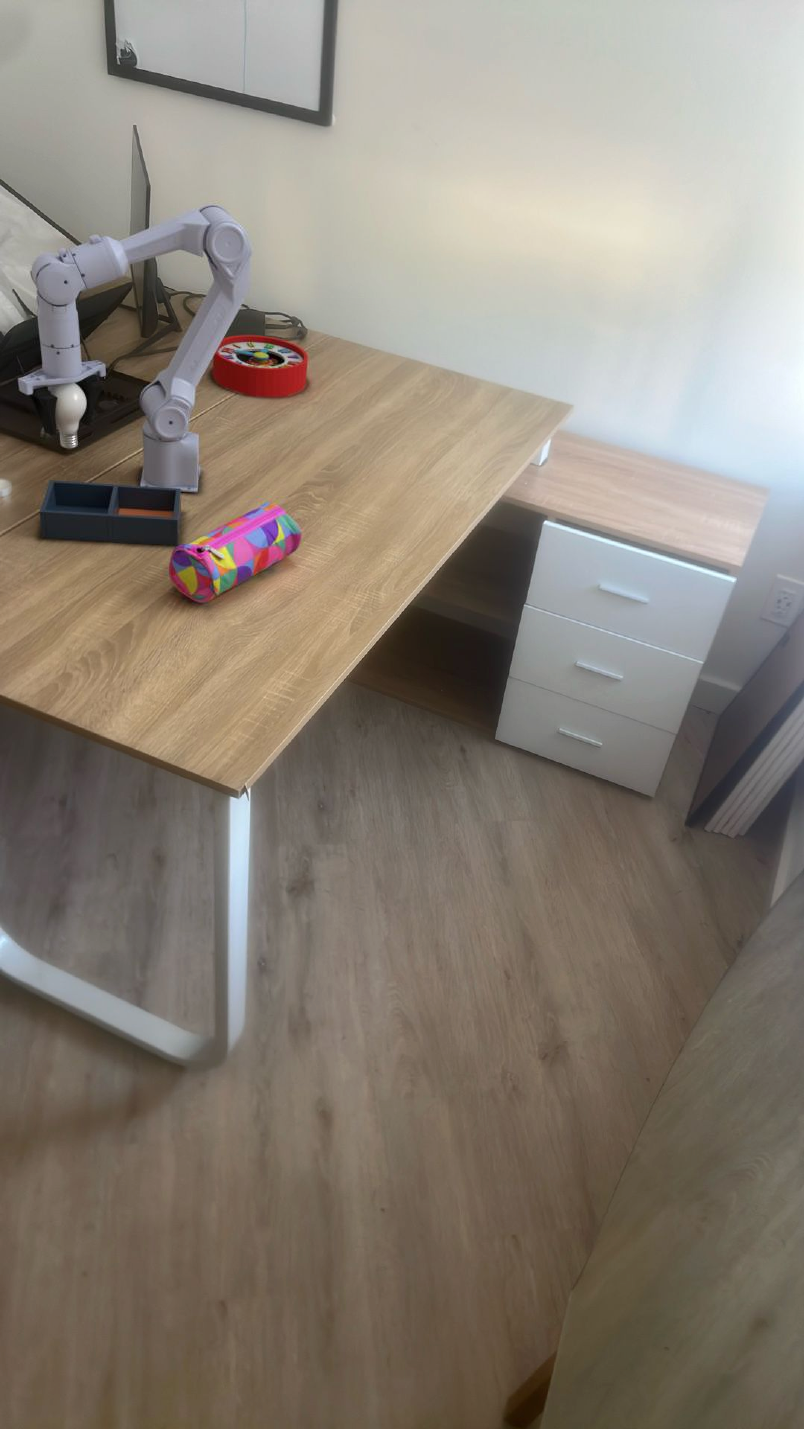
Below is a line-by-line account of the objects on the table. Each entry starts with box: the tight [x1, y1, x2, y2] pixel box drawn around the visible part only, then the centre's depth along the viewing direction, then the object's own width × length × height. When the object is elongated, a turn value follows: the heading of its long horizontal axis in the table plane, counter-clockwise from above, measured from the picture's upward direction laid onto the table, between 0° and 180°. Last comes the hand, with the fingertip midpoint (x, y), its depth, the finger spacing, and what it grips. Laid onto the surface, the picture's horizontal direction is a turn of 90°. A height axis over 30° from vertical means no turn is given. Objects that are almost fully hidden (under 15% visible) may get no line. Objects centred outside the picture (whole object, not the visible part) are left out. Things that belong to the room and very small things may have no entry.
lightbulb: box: [48, 383, 87, 450], centre depth 150 cm, size 6×6×11 cm
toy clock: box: [212, 334, 309, 398], centre depth 203 cm, size 20×6×20 cm
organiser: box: [39, 479, 182, 547], centre depth 148 cm, size 20×10×4 cm, turn 98°
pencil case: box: [168, 501, 302, 604], centre depth 140 cm, size 22×9×9 cm, turn 148°
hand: (68, 428), depth 151 cm, fingers closed on lightbulb, 6 cm apart
